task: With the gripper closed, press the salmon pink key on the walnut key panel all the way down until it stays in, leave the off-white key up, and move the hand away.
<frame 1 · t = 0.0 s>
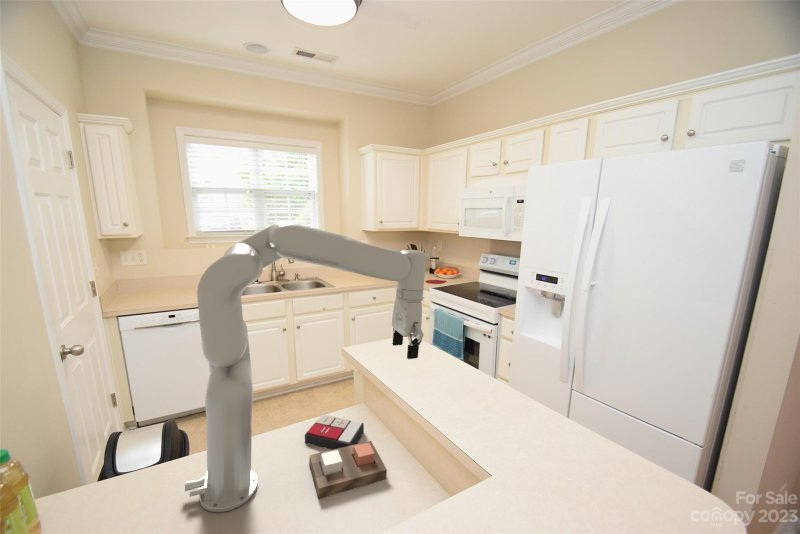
hand: (404, 351, 96), 31 cm above the countertop, tool pointing down, fingers open, 9 cm apart
salmon pink key: (363, 456, 91), point 4 cm above the countertop, slide at 0.0 cm
calculator: (334, 439, 103), on the countertop
key panel: (346, 472, 90), on the countertop
white key: (331, 464, 87), point 4 cm above the countertop, slide at 0.0 cm
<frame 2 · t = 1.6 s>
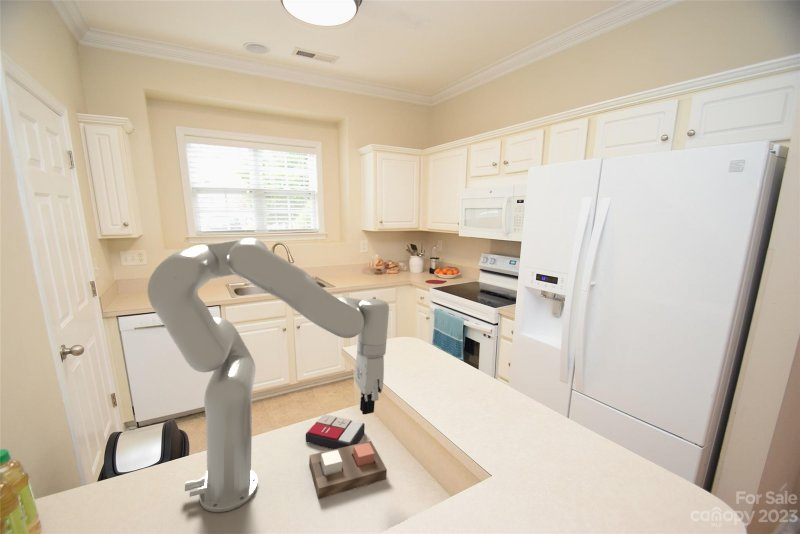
hand: (366, 411, 89), 17 cm above the countertop, tool pointing down, fingers closed
nothing on the countertop moved.
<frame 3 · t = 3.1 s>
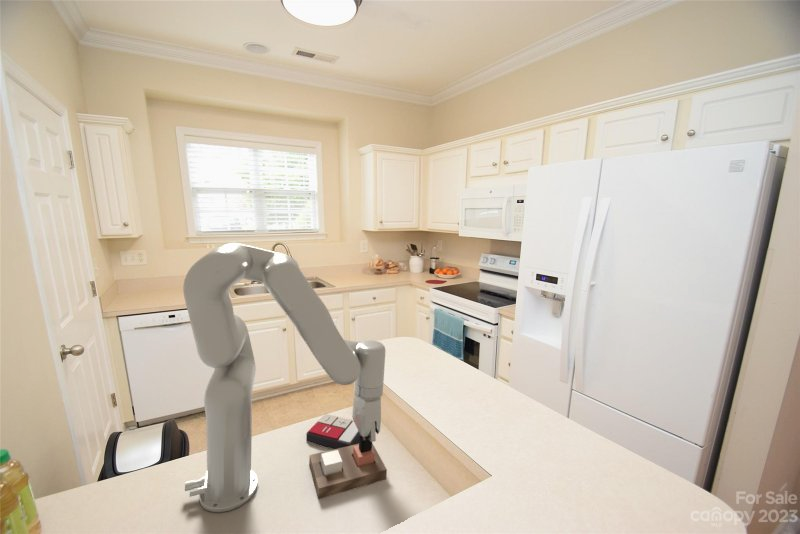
hand: (365, 449, 91), 6 cm above the countertop, tool pointing down, fingers closed
salmon pink key: (363, 456, 91), point 4 cm above the countertop, slide at 0.1 cm, touching gripper
everything else where it was.
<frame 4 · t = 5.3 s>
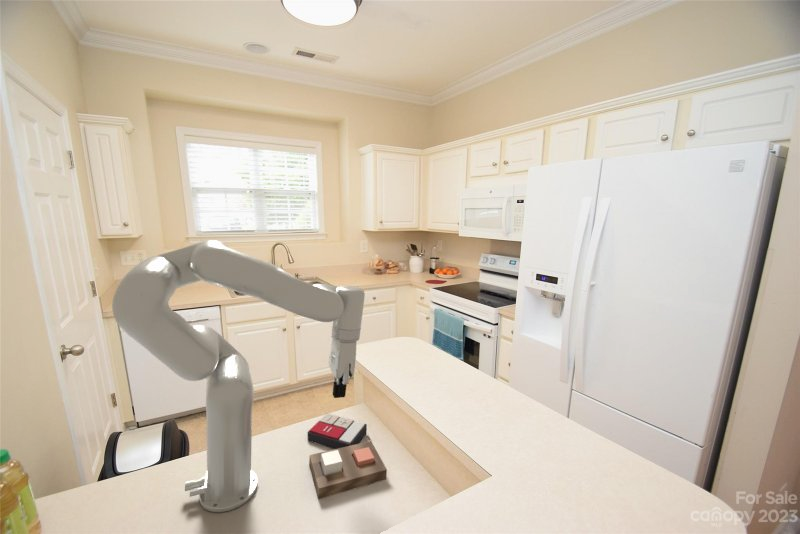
hand: (338, 395, 91), 19 cm above the countertop, tool pointing down, fingers closed
salmon pink key: (363, 460, 91), point 2 cm above the countertop, slide at 1.4 cm
everything else where it was.
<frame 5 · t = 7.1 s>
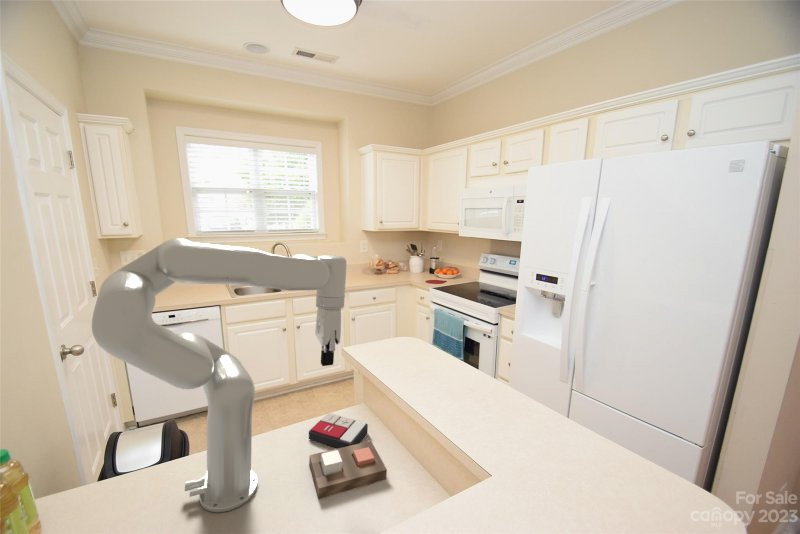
hand: (326, 364, 93), 27 cm above the countertop, tool pointing down, fingers closed
at the end: salmon pink key slide at 1.4 cm; white key slide at 0.0 cm; calculator moved 1.4 cm from its start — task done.
